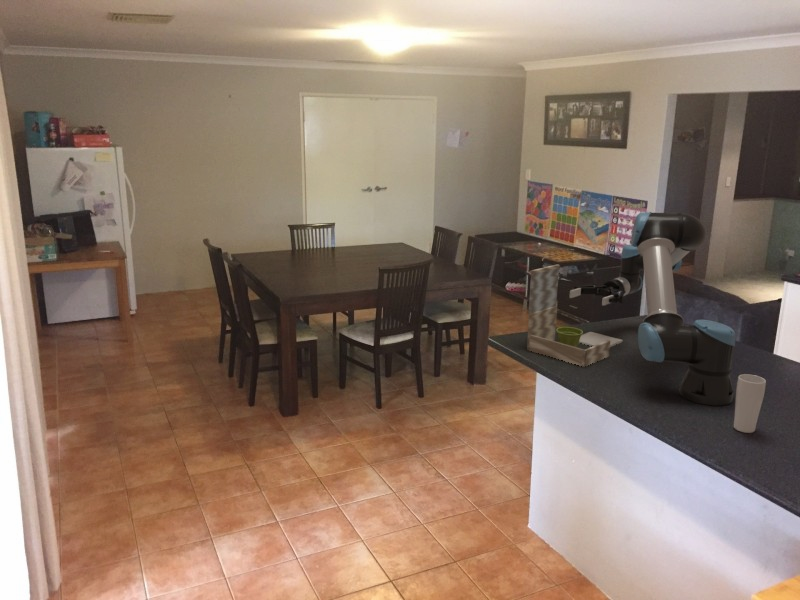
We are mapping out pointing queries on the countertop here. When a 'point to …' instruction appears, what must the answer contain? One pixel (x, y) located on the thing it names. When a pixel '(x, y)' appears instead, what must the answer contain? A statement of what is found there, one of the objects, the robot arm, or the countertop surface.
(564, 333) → the plant pot
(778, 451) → the countertop surface
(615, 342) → the stone pad
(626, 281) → the robot arm
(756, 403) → the drinking glass
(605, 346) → the zigzag patterned stand
